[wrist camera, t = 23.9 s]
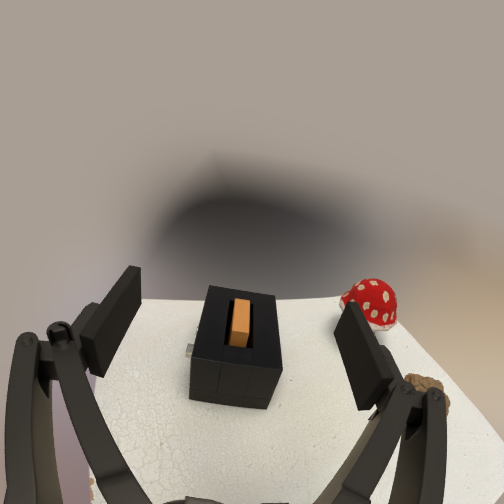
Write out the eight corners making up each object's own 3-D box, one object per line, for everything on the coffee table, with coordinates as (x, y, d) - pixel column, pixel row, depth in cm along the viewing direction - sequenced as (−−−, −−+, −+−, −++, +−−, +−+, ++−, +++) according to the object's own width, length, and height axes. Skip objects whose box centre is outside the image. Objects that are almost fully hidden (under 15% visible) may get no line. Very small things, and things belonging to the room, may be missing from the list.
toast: (224, 369, 41) (232, 330, 38) (228, 336, 48) (235, 298, 45) (239, 371, 41) (249, 332, 38) (241, 338, 49) (250, 300, 45)
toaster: (181, 397, 37) (181, 355, 33) (198, 325, 54) (202, 283, 50) (266, 409, 38) (283, 370, 34) (263, 335, 55) (275, 295, 51)
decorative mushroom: (340, 312, 67) (361, 259, 61) (387, 337, 60) (414, 285, 53) (315, 338, 56) (339, 278, 50) (371, 369, 49) (404, 311, 43)
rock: (443, 442, 31) (460, 426, 29) (397, 434, 34) (413, 418, 32) (438, 393, 43) (451, 377, 41) (398, 383, 46) (410, 366, 44)
